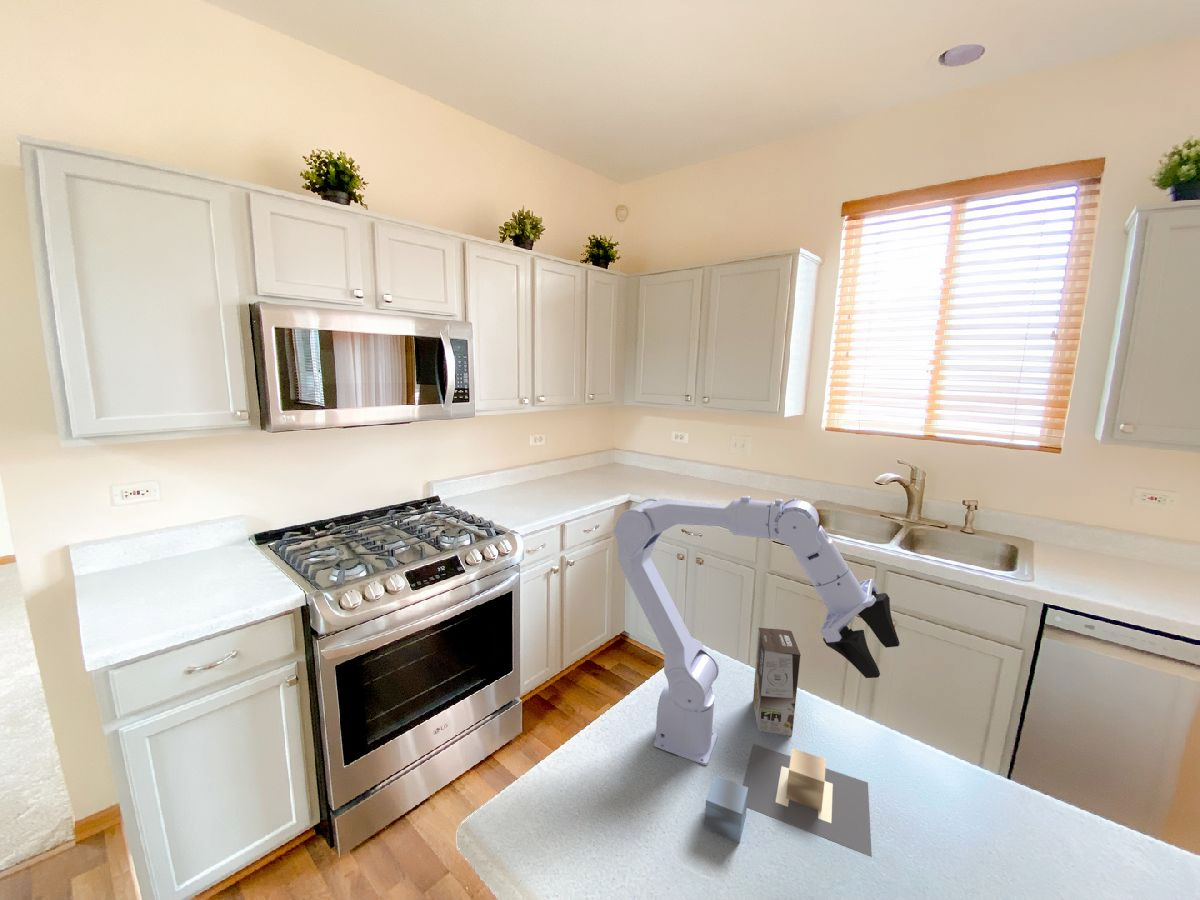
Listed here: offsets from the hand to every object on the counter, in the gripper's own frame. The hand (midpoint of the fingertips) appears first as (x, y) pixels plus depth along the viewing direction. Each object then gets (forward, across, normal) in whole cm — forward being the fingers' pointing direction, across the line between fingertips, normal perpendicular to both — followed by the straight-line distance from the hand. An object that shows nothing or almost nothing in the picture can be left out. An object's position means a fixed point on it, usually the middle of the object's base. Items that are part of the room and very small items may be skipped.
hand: (883, 660), depth 72 cm
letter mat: (+15, -10, +19) cm, 26 cm away
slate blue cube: (+10, -23, +21) cm, 33 cm away
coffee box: (+11, +2, +31) cm, 33 cm away
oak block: (+15, -10, +18) cm, 26 cm away
